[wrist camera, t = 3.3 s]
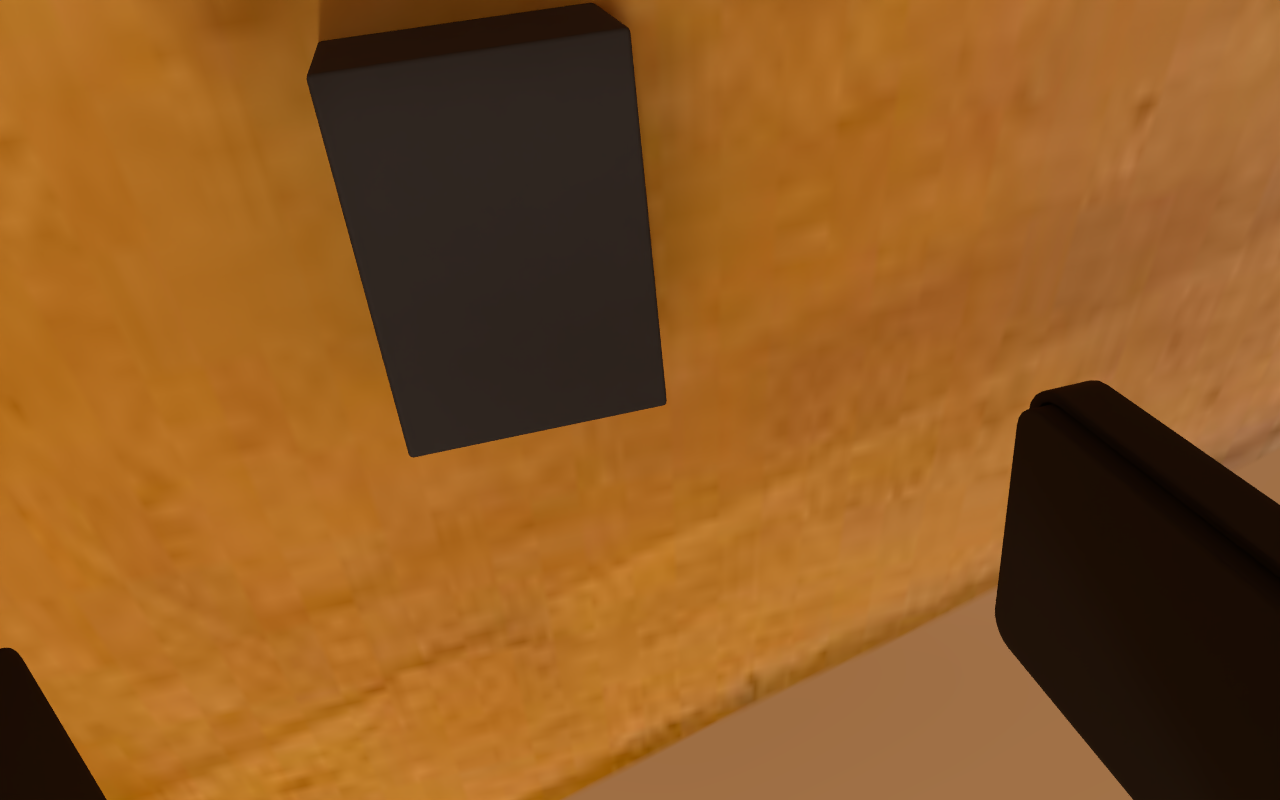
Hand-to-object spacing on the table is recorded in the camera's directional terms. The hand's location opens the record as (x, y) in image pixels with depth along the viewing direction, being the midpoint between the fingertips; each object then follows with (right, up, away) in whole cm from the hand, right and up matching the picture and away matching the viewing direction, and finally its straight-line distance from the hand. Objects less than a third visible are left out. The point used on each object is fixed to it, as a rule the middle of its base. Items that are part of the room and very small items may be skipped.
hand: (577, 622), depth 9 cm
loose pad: (-2, +6, +10) cm, 12 cm away
